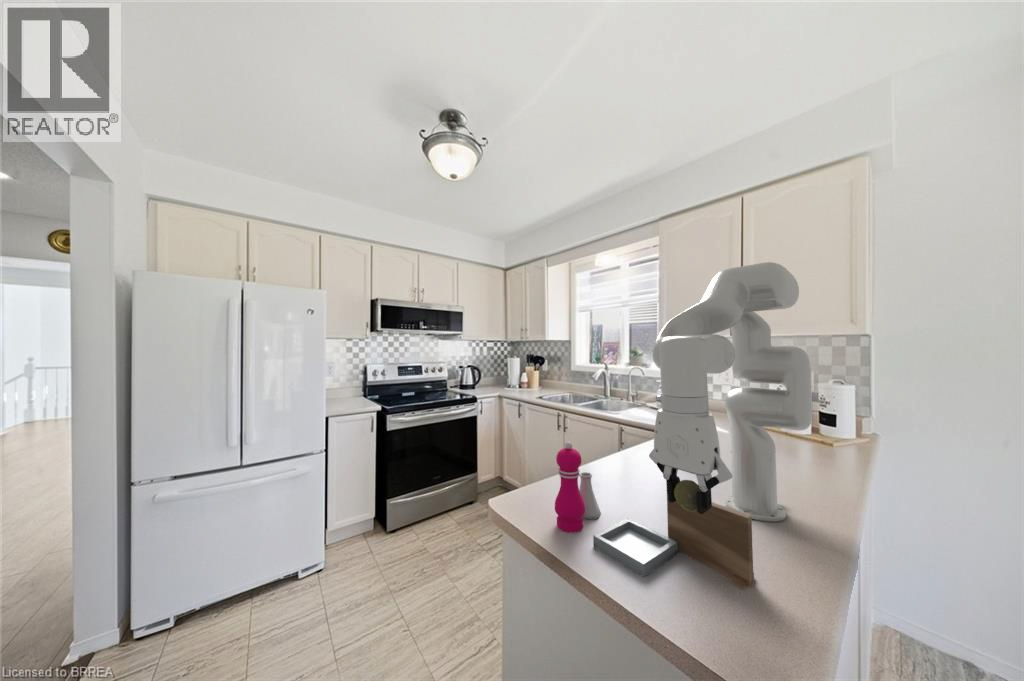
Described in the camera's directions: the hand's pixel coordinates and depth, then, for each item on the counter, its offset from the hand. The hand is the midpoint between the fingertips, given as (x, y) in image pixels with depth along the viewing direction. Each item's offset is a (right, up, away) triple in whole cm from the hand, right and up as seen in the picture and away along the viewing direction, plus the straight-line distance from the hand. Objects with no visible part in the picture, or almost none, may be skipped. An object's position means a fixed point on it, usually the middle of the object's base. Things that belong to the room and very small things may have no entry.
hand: (688, 504), depth 60 cm
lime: (0, -1, 0) cm, 1 cm away
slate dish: (-6, -14, +10) cm, 18 cm away
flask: (-13, -15, +26) cm, 33 cm away
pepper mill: (-18, -15, +20) cm, 31 cm away
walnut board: (+6, -14, +5) cm, 16 cm away
